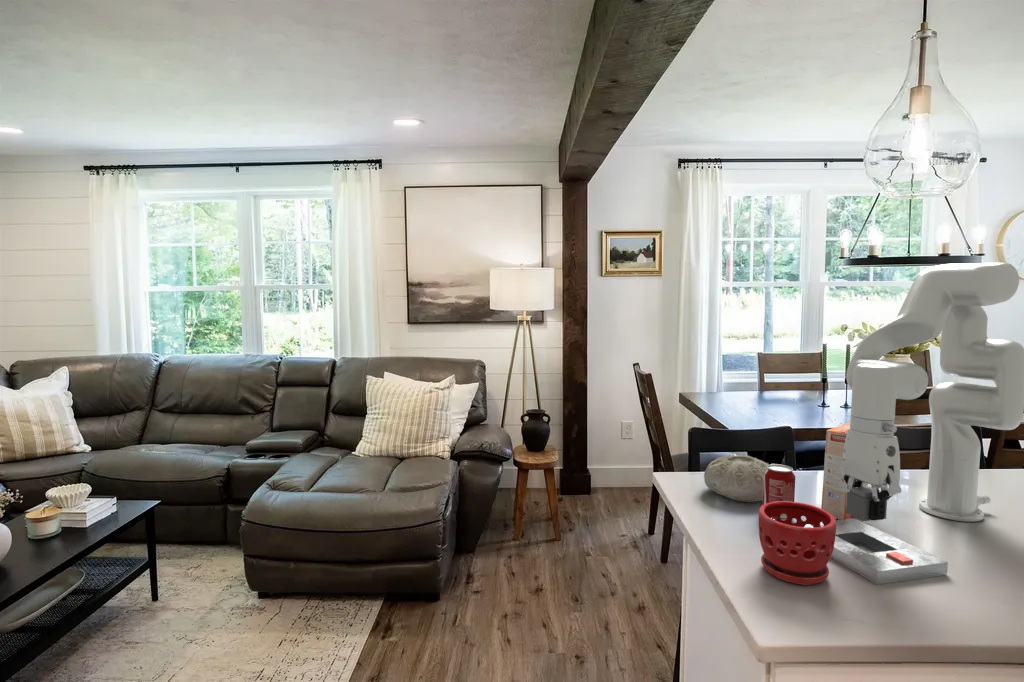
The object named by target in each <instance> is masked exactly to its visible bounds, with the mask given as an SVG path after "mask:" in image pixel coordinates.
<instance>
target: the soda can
mask: <svg viewBox="0 0 1024 682" xmlns="http://www.w3.org/2000/svg"><path fill="white" fill-rule="evenodd" d="M793 471H794V469H793V467H791V466H789V465H785V464H778V463H771V464H768V466H767V470H766V471H765V472H764V484H763V500H762V505H764V504H766V503H769V502H776V501H791V502H795V499H796V498H795V494H796V475H795V473H794V472H793ZM770 518H772V519H776V518H775V517H774V516H772V517H770ZM780 518H781V519H782V520H785V519H786V518H787V515H786V514H782V515H781V516H780Z"/></svg>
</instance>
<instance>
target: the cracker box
mask: <svg viewBox="0 0 1024 682" xmlns="http://www.w3.org/2000/svg"><path fill="white" fill-rule="evenodd" d="M849 428H850V421H849V422H845V423H843V424H841V425H838V426H834V427H832V428H829V429H827V430H826V433H825V434H826V435H825V446H824V447H825V449H824V450H825V451H824V464H823V465H824V466H823V475H822V477H823V479H822V490H821V492H822V493H821V507H820V508H821V509H823V510H825V511H827V512H829V513H830V514H831V515H833V516H834V518H835V520H837V519H838V520H843V519H852V518H854V516H852V515H849V514H847V513H846V504H847V492H849V491H848V489H847V484H846V482H845V480H844V477H843V476H842V475H841V473H840V472H839V470H838V469H839V467H840V466H841V465H842V461H843V451H844V444H845V439H846V435H847V432H848V429H849ZM856 481H857V480H856ZM867 486H869V484H868V483H865V482H864V484H863V487H867Z"/></svg>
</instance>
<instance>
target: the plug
mask: <svg viewBox="0 0 1024 682" xmlns="http://www.w3.org/2000/svg"><path fill="white" fill-rule="evenodd" d="M880 492H881V489H879V493H880ZM870 500H873V497H872V488H871V485H868V486H867V487H855V488H851V492H847V504H846V513H847V514H849V515H852V516H853V518H855V519H857V520H859V521H861V522H868V521H871V520H870V519H869V510H870ZM887 505H888V501H886V502H885V517H884V519H883V520H886V519H887V511H888V510H887V509H888V508H887V507H888V506H887Z"/></svg>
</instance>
